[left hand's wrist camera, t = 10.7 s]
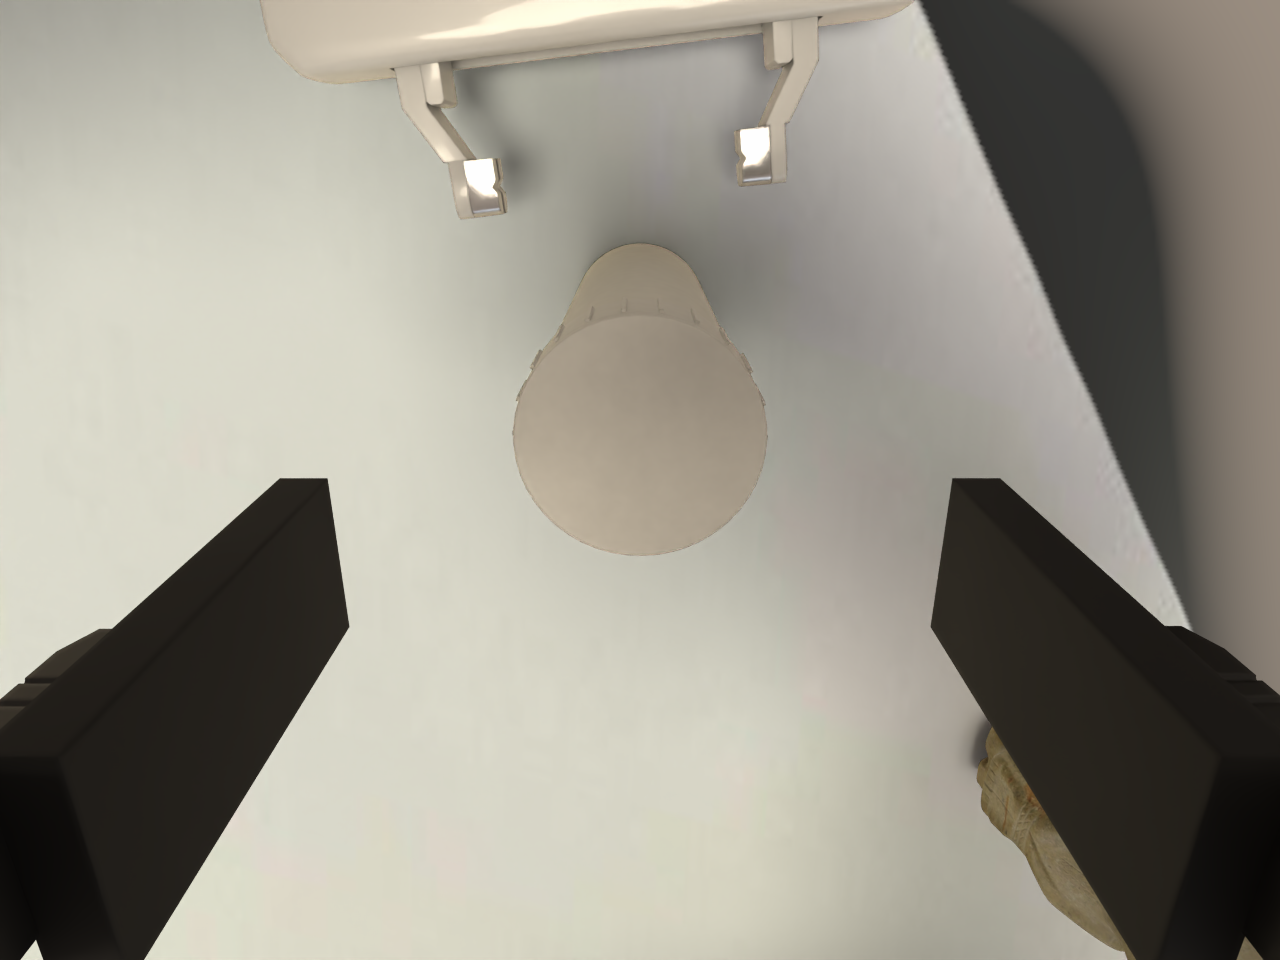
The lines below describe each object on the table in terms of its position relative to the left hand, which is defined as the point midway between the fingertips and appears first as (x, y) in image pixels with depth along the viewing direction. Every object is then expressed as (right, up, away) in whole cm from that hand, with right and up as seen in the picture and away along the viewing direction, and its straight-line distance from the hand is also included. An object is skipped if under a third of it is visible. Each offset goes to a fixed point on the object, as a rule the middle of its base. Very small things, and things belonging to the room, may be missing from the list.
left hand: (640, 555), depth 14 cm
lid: (0, +2, +6) cm, 6 cm away
